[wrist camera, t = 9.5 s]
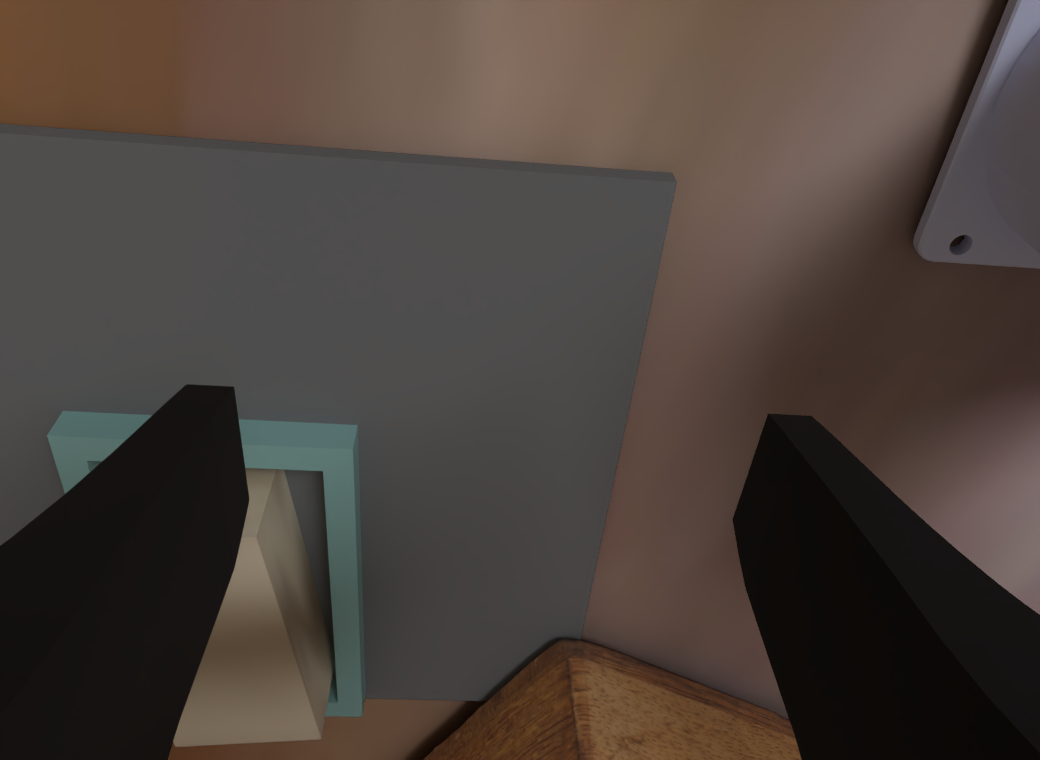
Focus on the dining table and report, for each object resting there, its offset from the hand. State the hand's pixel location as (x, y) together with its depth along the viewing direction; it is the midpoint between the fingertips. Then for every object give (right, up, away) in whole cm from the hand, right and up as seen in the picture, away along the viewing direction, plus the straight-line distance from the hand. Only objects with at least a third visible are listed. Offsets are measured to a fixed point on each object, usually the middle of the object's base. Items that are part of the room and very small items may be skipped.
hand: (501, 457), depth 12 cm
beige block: (-8, -5, +14) cm, 17 cm away
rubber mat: (-6, -2, +13) cm, 14 cm away
